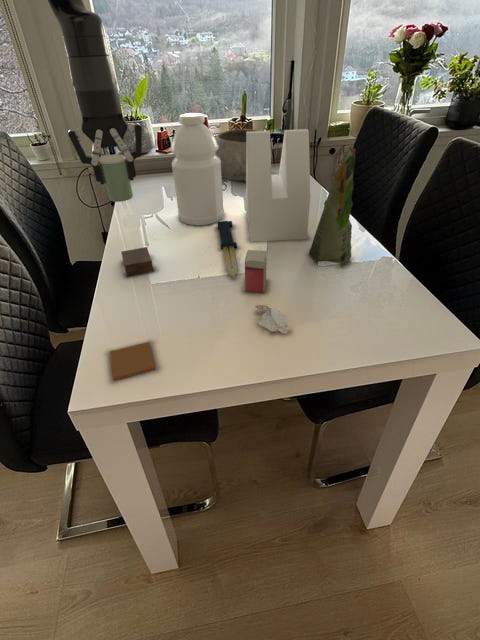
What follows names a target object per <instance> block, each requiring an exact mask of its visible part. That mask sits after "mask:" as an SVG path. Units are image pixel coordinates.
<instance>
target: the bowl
mask: <svg viewBox="0 0 480 640" xmlns="http://www.w3.org/2000/svg"><path fill="white" fill-rule="evenodd" d="M251 131H259V130H257V129H251V128H238V129H237V128H236V129H230V130H226V131H222V132H220V133H218V134H217V135H216V136H215V139H216V141H217V144H218V146H219V149H218V150H217V151H216V155H217V156H218V158H220V161H221V178H223V179H226V180H227V179H228V180H231V181H237V182H246V132H251ZM270 146H271V160H272V158H273V150H274V146H273V143H272V141H271V140H270Z"/></svg>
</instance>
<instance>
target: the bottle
mask: <svg viewBox="0 0 480 640" xmlns="http://www.w3.org/2000/svg"><path fill="white" fill-rule="evenodd" d="M178 116H179V117H178V121H179V124H180V126H179V127H178V129H177V130H176V131H175V133H174V135H173V137H172V141H171V145H170V153H172V154H173V155H174V158H173V159H172V161H171V169H172V176H173V181H174V189H175V196H176V203H177V210H178V211H177V213H178V215H177V216H178V219H179V220H180V221H181V222H182V223H183V224H187V225H191V226H206V225H211V224H215V223H217V222H219V221H221V220H222V219H223V217H224V215H225V209H224V197H223V179H222V178H223V177H222V176H221V161H220V158H218V156H217V155H216V151H217V150H218V149H219V146H218V144H217V141H216V139H215V138H216V136H215V134H214V133H213V132H212V130H210V128H209V127H208V126H206V125H205V124H204V123H205V122H206V118H205V115H204V113H200V112H187V113H182V114H180V115H178Z"/></svg>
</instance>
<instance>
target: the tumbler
mask: <svg viewBox="0 0 480 640" xmlns="http://www.w3.org/2000/svg"><path fill="white" fill-rule="evenodd" d="M126 160H127V158H126V157H125V155H124V154H108V155H103V156H99V159H98V163H99V164H100V168H101V172H102V176H103V180H104V184H103V185H104V187H105V191H106V195H107V199H108V201H110V202H114V203H118V202H119V203H121V202H126V201H130V200H132V199H133V198H134V193H133V188H132V184H131V181H130V178H129V173H128V168H127V163H126Z"/></svg>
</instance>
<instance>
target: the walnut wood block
mask: <svg viewBox="0 0 480 640" xmlns="http://www.w3.org/2000/svg"><path fill="white" fill-rule="evenodd" d="M120 252H121V258H122V262H123V266H124V270H125V274H126V277H133V276H138V275H143V274H147V273H153V272H154V271H155V269H154V265H153V260H152V257H151V254H150V252H149V249H148V246H145V247H139V248H133V249H128V250H122V251H120Z"/></svg>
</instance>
